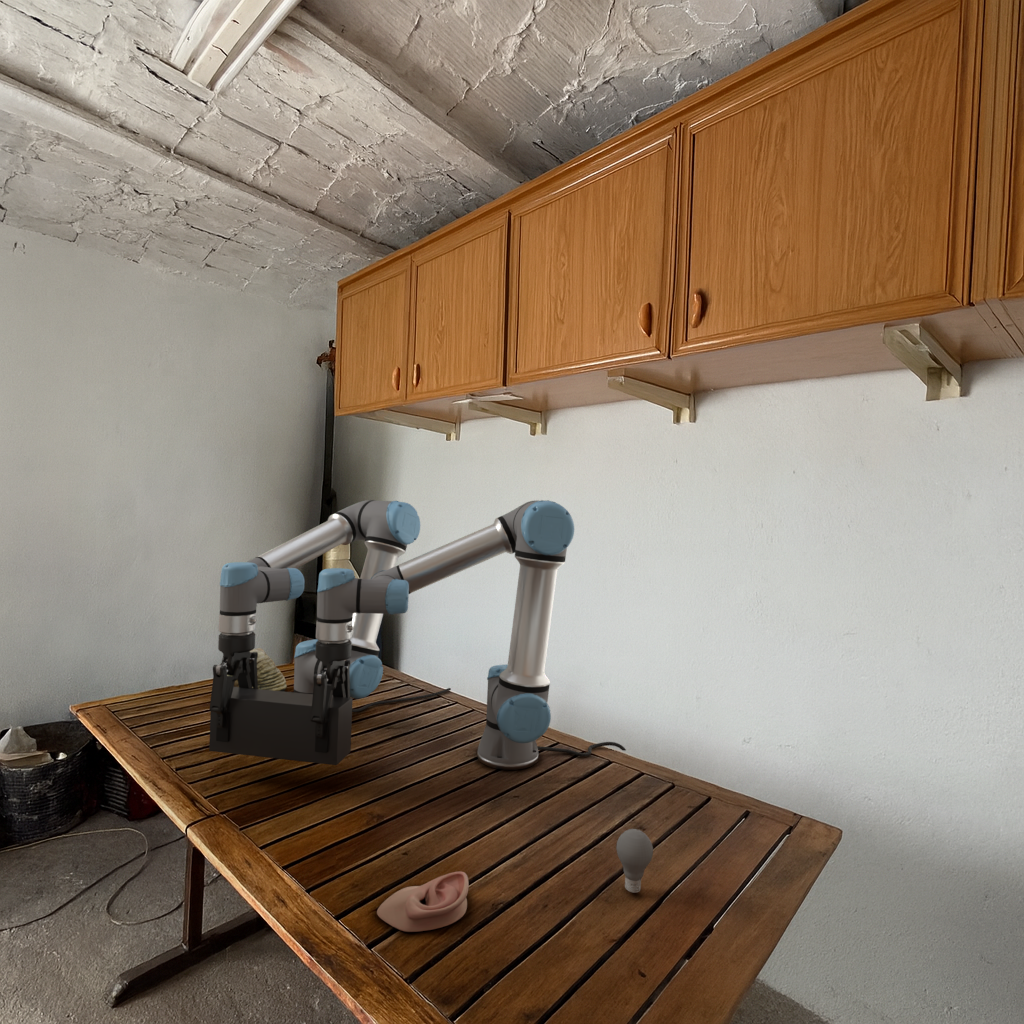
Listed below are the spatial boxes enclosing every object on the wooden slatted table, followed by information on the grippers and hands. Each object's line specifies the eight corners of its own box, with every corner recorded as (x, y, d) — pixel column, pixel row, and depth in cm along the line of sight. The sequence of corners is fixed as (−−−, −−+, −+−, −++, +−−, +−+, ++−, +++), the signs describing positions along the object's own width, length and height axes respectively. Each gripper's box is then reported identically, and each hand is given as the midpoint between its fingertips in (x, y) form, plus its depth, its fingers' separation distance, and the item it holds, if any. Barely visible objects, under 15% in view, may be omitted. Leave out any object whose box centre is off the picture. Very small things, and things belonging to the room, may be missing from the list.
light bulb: (610, 879, 108) (613, 822, 108) (644, 879, 109) (647, 822, 109) (619, 902, 102) (622, 840, 102) (655, 901, 103) (658, 840, 103)
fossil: (218, 695, 195) (220, 647, 195) (278, 685, 208) (279, 640, 207) (228, 703, 189) (230, 653, 188) (289, 692, 201) (290, 645, 201)
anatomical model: (369, 898, 94) (398, 856, 105) (368, 925, 94) (397, 880, 106) (454, 914, 92) (475, 869, 103) (453, 941, 92) (474, 893, 103)
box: (209, 751, 138) (210, 696, 138) (229, 738, 146) (230, 686, 145) (336, 765, 134) (338, 708, 134) (350, 751, 141) (352, 698, 141)
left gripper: (225, 643, 130) (221, 753, 131) (276, 624, 150) (273, 720, 151) (192, 640, 131) (188, 749, 132) (247, 622, 152) (244, 717, 152)
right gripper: (329, 652, 127) (325, 765, 127) (367, 631, 147) (364, 729, 147) (294, 649, 128) (290, 761, 128) (337, 629, 148) (333, 726, 149)
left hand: (233, 734), depth 141 cm, fingers closed on box, 7 cm apart
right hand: (329, 744), depth 138 cm, fingers closed on box, 7 cm apart
